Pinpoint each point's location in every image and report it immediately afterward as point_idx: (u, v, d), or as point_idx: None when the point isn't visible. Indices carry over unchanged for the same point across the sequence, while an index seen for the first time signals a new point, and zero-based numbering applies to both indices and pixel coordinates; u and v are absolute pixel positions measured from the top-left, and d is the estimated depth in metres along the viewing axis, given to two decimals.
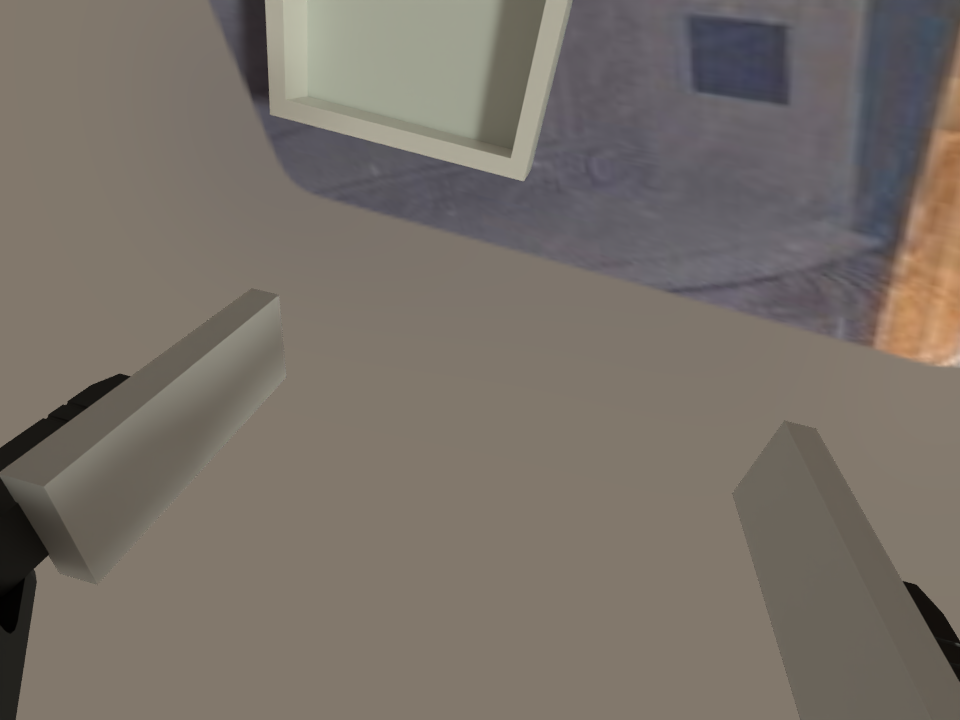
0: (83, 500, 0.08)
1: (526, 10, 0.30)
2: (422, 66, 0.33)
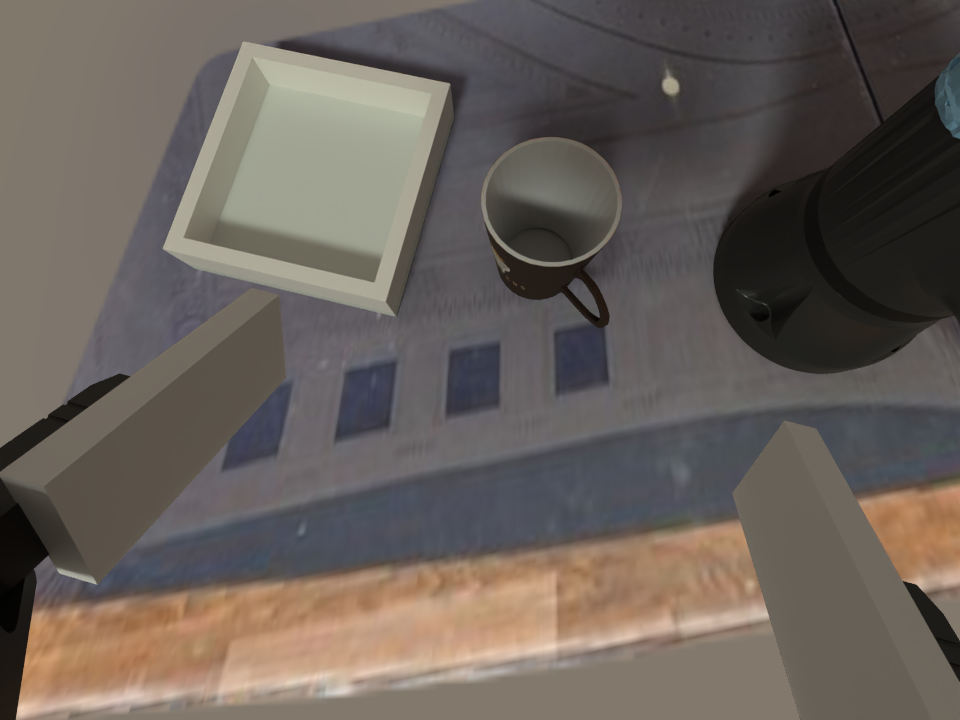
0: (83, 500, 0.08)
1: (305, 259, 0.39)
2: (278, 179, 0.40)
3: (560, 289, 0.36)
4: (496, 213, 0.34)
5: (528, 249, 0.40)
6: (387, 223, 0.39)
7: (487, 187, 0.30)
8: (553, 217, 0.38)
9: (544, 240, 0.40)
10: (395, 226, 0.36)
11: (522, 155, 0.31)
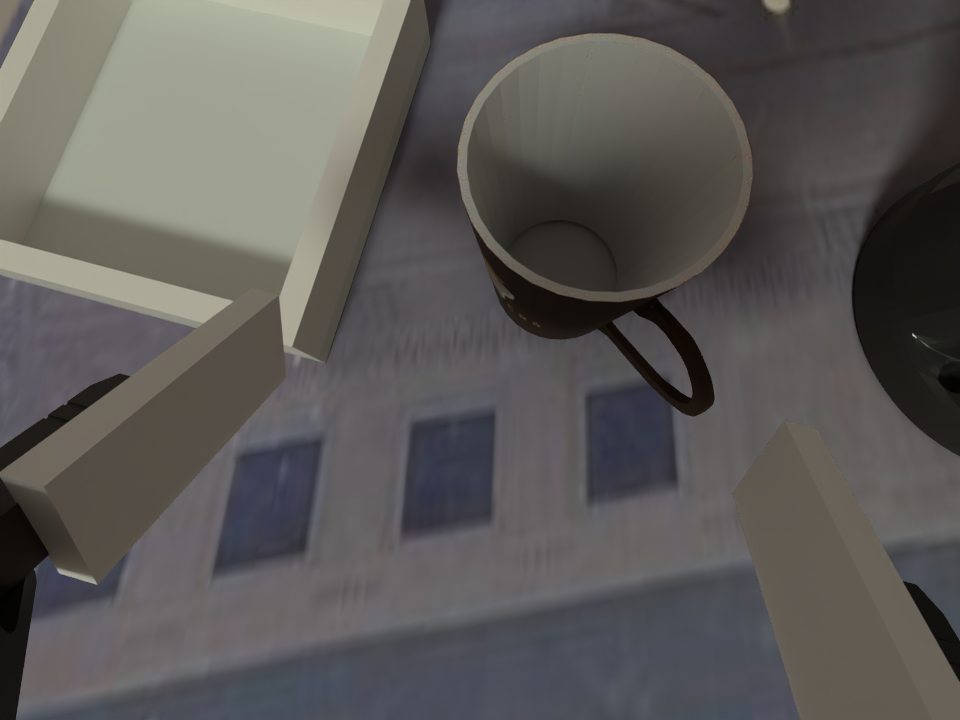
0: (83, 500, 0.08)
1: (177, 266, 0.24)
2: (143, 134, 0.25)
3: (601, 328, 0.21)
4: (491, 191, 0.18)
5: (545, 255, 0.24)
6: None
7: (470, 132, 0.14)
8: (589, 203, 0.22)
9: (571, 241, 0.24)
10: (316, 213, 0.21)
11: (543, 73, 0.16)
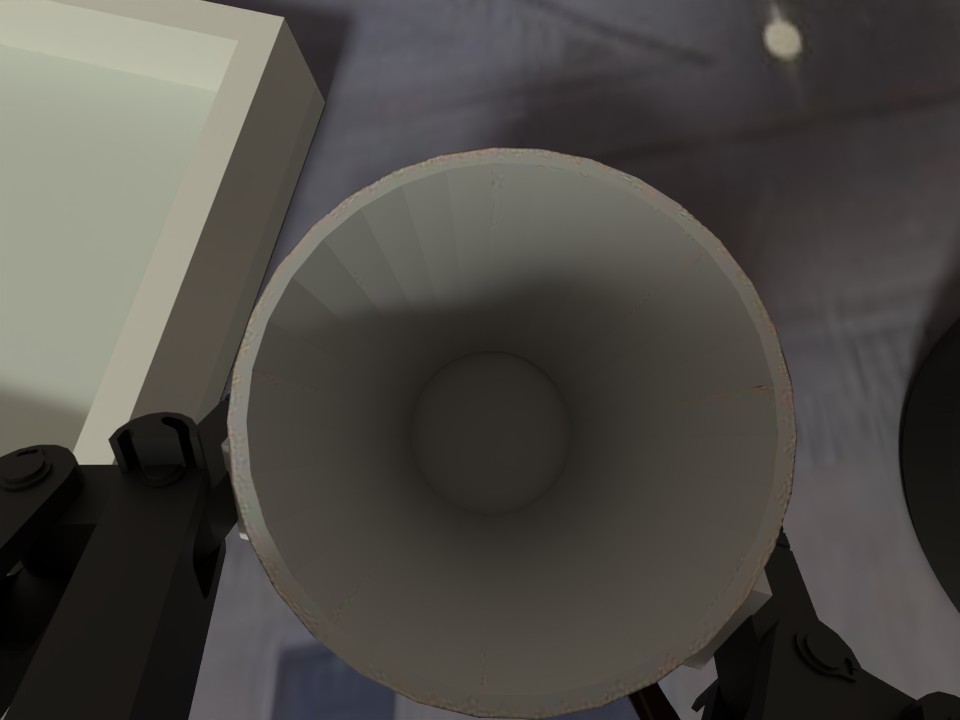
0: None
1: None
2: None
3: None
4: (359, 367, 0.11)
5: (473, 399, 0.17)
6: None
7: (260, 341, 0.07)
8: (530, 340, 0.16)
9: (509, 379, 0.18)
10: (113, 377, 0.14)
11: (418, 210, 0.09)
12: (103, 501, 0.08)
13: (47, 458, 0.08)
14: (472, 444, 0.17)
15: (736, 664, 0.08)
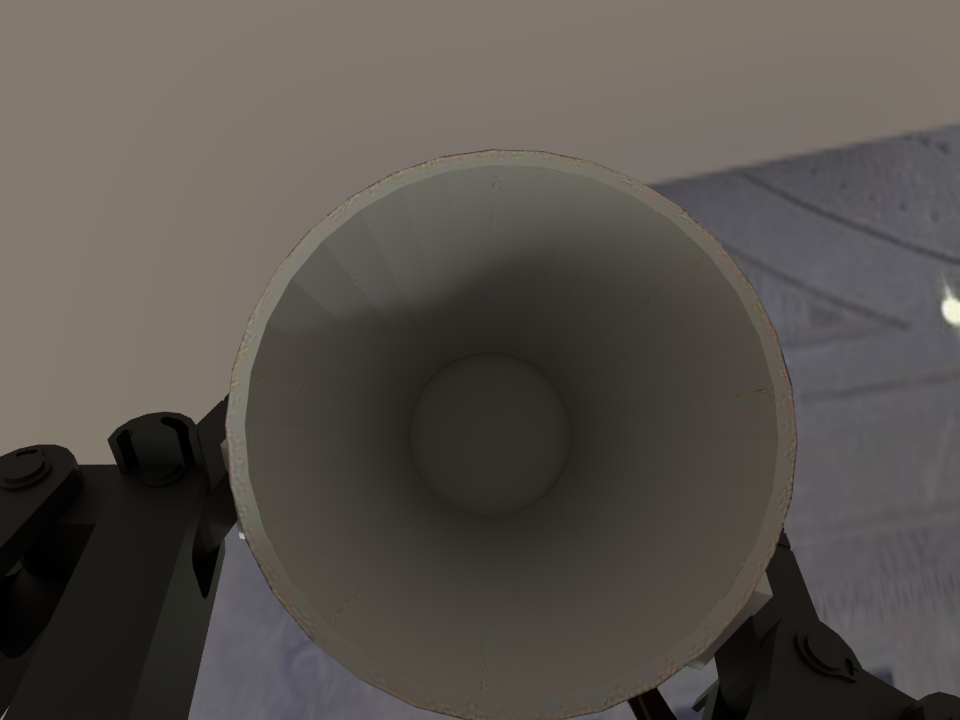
0: None
1: None
2: None
3: None
4: (359, 368, 0.11)
5: (472, 400, 0.17)
6: None
7: (258, 344, 0.07)
8: (529, 342, 0.16)
9: (508, 380, 0.17)
10: None
11: (417, 212, 0.09)
12: (102, 502, 0.08)
13: (46, 458, 0.08)
14: (472, 445, 0.17)
15: (737, 665, 0.08)
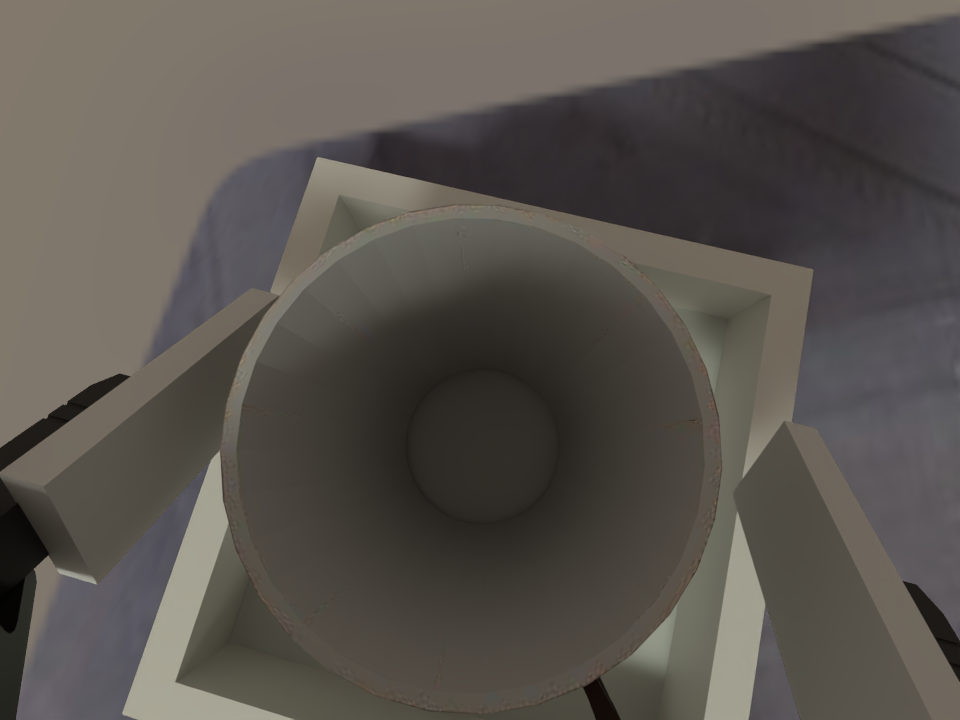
0: (83, 500, 0.08)
1: None
2: None
3: None
4: (349, 391, 0.13)
5: (466, 414, 0.18)
6: None
7: (248, 380, 0.09)
8: (516, 360, 0.16)
9: (500, 394, 0.18)
10: (723, 665, 0.14)
11: (391, 257, 0.10)
12: None
13: None
14: (465, 456, 0.18)
15: None
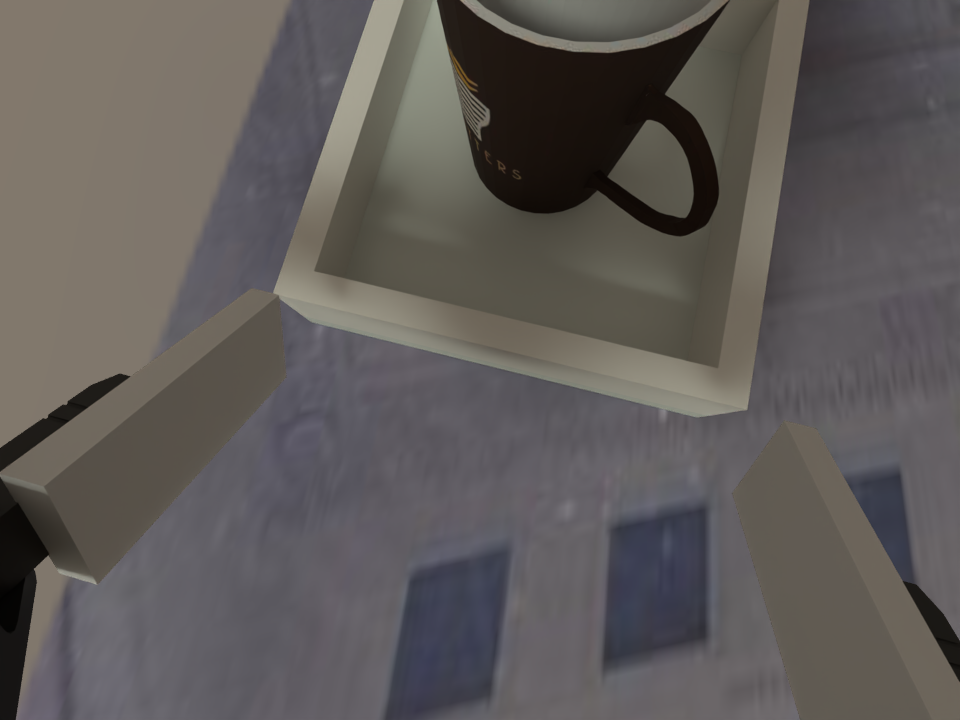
0: (83, 500, 0.08)
1: (527, 309, 0.21)
2: (465, 158, 0.22)
3: (589, 182, 0.19)
4: None
5: None
6: (675, 242, 0.21)
7: None
8: None
9: None
10: (745, 251, 0.18)
11: None
12: None
13: None
14: None
15: None
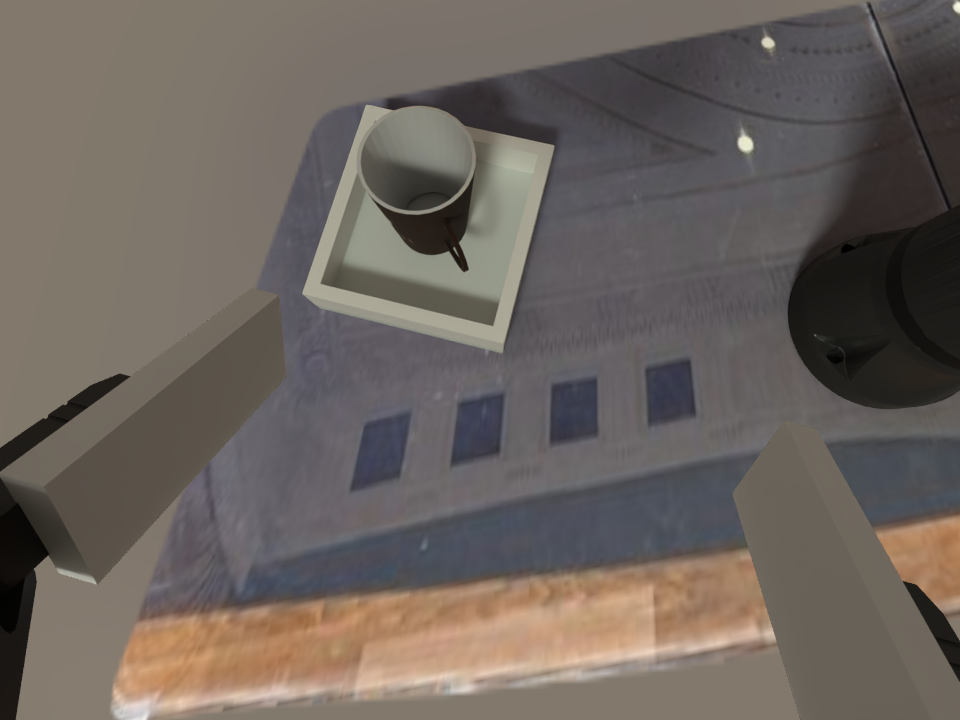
0: (83, 500, 0.08)
1: (421, 301, 0.43)
2: None
3: (444, 243, 0.41)
4: (383, 173, 0.39)
5: None
6: (494, 269, 0.44)
7: (362, 147, 0.35)
8: (444, 182, 0.43)
9: (440, 203, 0.45)
10: (510, 275, 0.40)
11: (397, 121, 0.36)
12: None
13: None
14: None
15: None
